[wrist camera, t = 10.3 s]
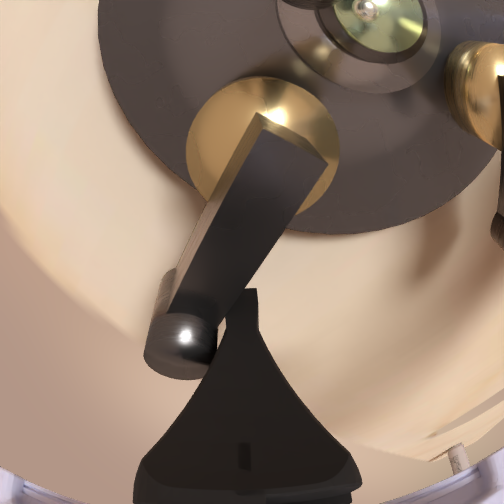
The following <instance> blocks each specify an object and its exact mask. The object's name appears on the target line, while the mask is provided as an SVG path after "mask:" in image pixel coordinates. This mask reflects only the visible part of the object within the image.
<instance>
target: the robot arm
mask: <svg viewBox="0 0 504 504" xmlns="http://www.w3.org/2000/svg"><path fill="white" fill-rule="evenodd" d="M225 319H226V330H225V332H224V335H223V338H222V340H221V343H220V345H219V347H218V349H217V351H216V354H215V356H214V358H213V360H212V362H211V364H210V366H209V368H208V370H207V372H206V374H205V375H204V377H203V379H202V381H201V383H200V384H199V386H198V388H197V389H196V391H195V392H194V394H193V395H192V397H191V399H190V400H189V402H188V403H187V405H186V406H185V408H184V409H183V410H182V412H181V413H180V414H179V416H178V417H177V418H176V420H175V421H174V423H173V424H172V425H171V426H170V428H169V429H168V430H167V432H166V433H165V434H164V435H163V436H162V437H161V439H160V440H159V441H158V442H157V443H156V444H155V445H154V446H153V447H152V449H151V450H150V451H149V452H148V453H147V454H146V455H145V456H144V457H143V458H142V460H141V462H140V465H139V467H138V470H137V473H136V477H135V482H134V491H133V503H134V504H350V503H352V498H351V492H352V491H354V490H356V489H358V488H359V487H361V485H362V478H361V475H360V472H359V469H358V467H357V465H356V463H355V461H354V459H353V458H352V456H351V454H350V452H349V451H348V450H347V449H346V448H344V446H342V445H341V444H340V443H339V442H338V441H337V440H336V439H335V438H334V437H333V436H332V435H331V434H330V433H329V432H328V431H327V430H326V429H325V428H324V426H323V425H322V424H321V423H320V422H319V421H318V420H317V419H316V418H315V417H314V415H313V414H312V413H311V412H310V410H309V409H308V408H307V407H306V406H305V404H304V403H303V402H302V401H301V399H300V398H299V397H298V396H297V394H296V393H295V391H294V390H293V389H292V387H291V386H290V384H289V383H288V382H287V380H286V378H285V377H284V375H283V374H282V372H281V371H280V369H279V368H278V366H277V364H276V362H275V361H274V359H273V357H272V355H271V354H270V352H269V350H268V348H267V346H266V344H265V342H264V340H263V338H262V336H261V334H260V331H259V321H258V297H257V288H247V289H244V290H243V291H242V293H241V294H240V296H239V297H238V299H237V300H236V301H235V303H234V304H233V306H232V307H231V309H230V310H229V311H228V313H227V314H226V315H225ZM0 504H88V503H84V502H81V501H78V500H75V499H72V498H69V497H66V496H63V495H60V494H58V493H55V492H53V491H50V490H48V489H45V488H43V487H41V486H39V485H36V484H34V483H32V482H29V481H27V480H25V479H23V478H22V477H20V476H18V475H16V474H14V473H12V472H10V471H8V470H6V469H4V468H2V467H1V466H0ZM380 504H504V447H502V448H501V449H499V450H497V451H496V452H494V453H493V454H491V455H489V456H488V457H486V458H484V459H482V460H481V461H479V462H478V463H477V464H474V465H473V466H471V467H469V468H467V469H465V470H463V471H461V472H459V473H457V474H455V475H453V476H451V477H449V478H447V479H445V480H443V481H440V482H438V483H436V484H433V485H431V486H429V487H426V488H424V489H421V490H419V491H416V492H413V493H411V494H408V495H405V496H402V497H400V498H396V499H393V500H390V501H387V502H384V503H380Z"/></svg>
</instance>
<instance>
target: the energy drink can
mask: <svg viewBox="0 0 504 504" xmlns="http://www.w3.org/2000/svg"><path fill="white" fill-rule="evenodd" d="M448 456H449V459H450V463H451V466H452V470H453V474H454V475H455V474H457V473H459V472H461V471H463V470H465V469H467V468H469V467H470V464H469V460H468V457H467V454H466V451H465V448H464V445H463V444H461V443H459V444H457V445H455V446H453V447H452V448H450V449H448Z"/></svg>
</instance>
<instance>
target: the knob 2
mask: <svg viewBox="0 0 504 504" xmlns="http://www.w3.org/2000/svg"><path fill="white" fill-rule="evenodd" d="M444 93H445V98H446V102H447V106H448V108H449V111H450V113H451V115H452V117H453V119H454V120H455V122H456V123H457V124H458V125H459V127H460V128H461V129H463V130H464V131H465V132H467V133H469V134H470V135H472V136H474V137H476V138H478V139H480V140H482V141H484V142H486V143H488V144H489V145H491V146H493V147H495V148H497V149H498V150H500V151H502V154H501V176H500V189H499V199H498V208H497V212H496V214H495V216H494V218H493V221H492V224H491V237H492V238H493V240H494V241H495V242H496V243H497V244H498V245H499V246H500V247H501V248H502V249H503V250H504V44H497V43H490V42H482V41H473V40H471V41H465V42H462V43H460V44H459V45H457V46H456V47H455V48H454V49H453V50H452V52H451V53H450V55H449V57H448V59H447V62H446V66H445V71H444Z"/></svg>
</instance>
